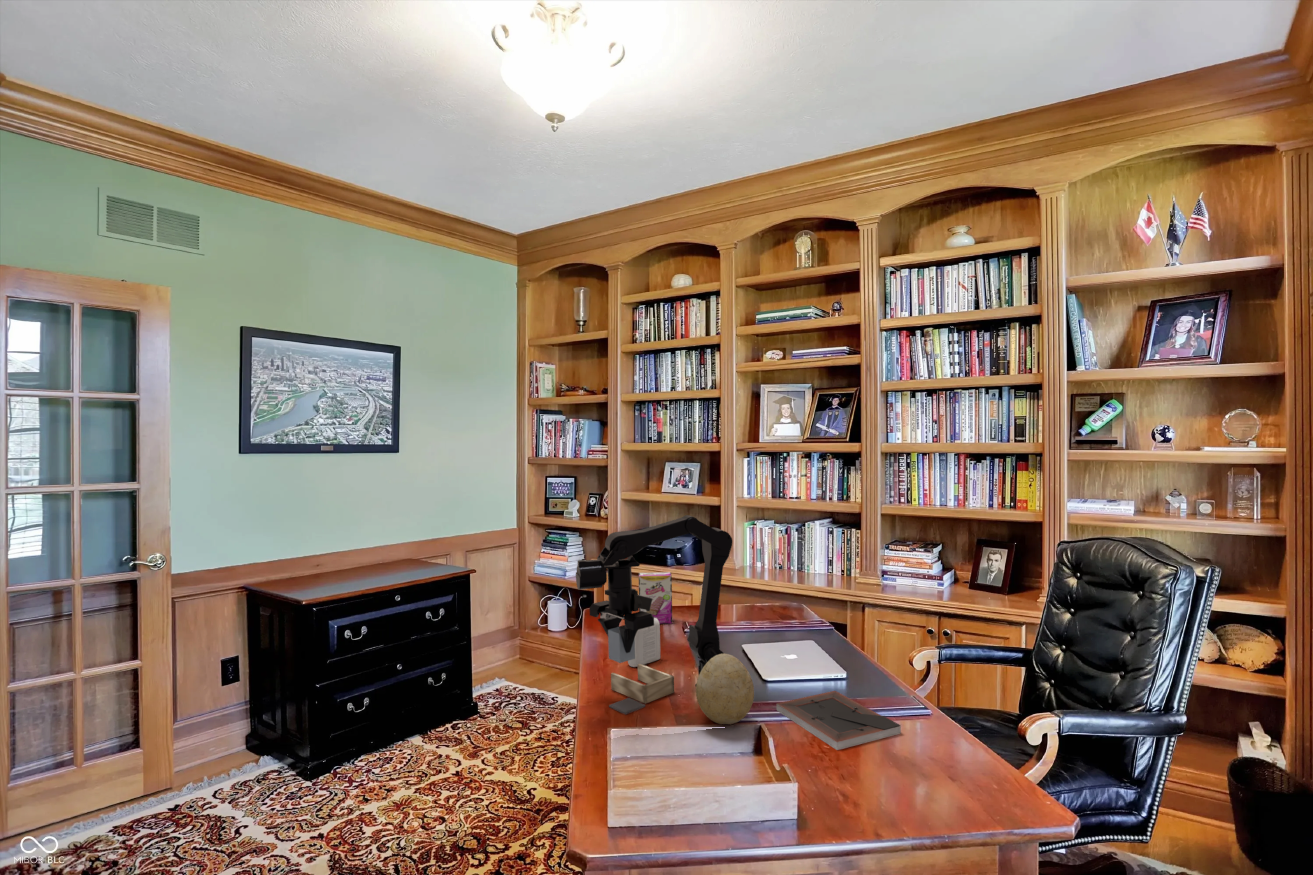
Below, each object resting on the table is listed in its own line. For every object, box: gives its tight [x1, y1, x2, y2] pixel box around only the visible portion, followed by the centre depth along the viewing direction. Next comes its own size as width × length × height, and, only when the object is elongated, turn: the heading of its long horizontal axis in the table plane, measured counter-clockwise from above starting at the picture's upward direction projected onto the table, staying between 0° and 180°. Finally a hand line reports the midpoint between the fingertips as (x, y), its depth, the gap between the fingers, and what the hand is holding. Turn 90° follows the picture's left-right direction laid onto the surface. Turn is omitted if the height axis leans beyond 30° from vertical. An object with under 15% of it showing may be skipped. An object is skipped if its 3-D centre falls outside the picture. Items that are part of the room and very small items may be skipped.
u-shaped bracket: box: [610, 664, 675, 705], centre depth 171 cm, size 13×10×4 cm
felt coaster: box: [608, 697, 646, 715], centre depth 161 cm, size 6×6×1 cm
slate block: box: [607, 627, 635, 664], centre depth 166 cm, size 4×4×7 cm
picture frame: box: [776, 690, 902, 751], centre depth 151 cm, size 16×2×22 cm
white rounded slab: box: [627, 618, 661, 668], centre depth 192 cm, size 10×4×12 cm, turn 134°
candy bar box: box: [638, 571, 673, 625], centre depth 230 cm, size 11×5×16 cm, turn 91°
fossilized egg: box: [695, 653, 755, 725], centre depth 152 cm, size 13×13×15 cm
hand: (621, 650), depth 166 cm, fingers closed on slate block, 4 cm apart
